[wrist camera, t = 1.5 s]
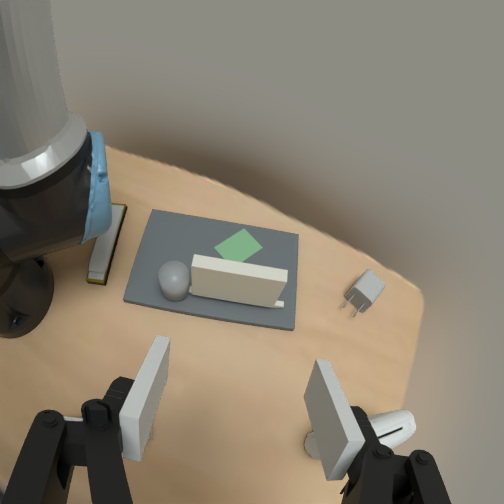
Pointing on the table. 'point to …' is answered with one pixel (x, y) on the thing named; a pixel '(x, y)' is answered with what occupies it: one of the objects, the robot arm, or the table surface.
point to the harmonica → (106, 248)
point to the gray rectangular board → (218, 246)
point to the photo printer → (378, 430)
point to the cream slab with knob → (223, 281)
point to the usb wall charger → (365, 291)
